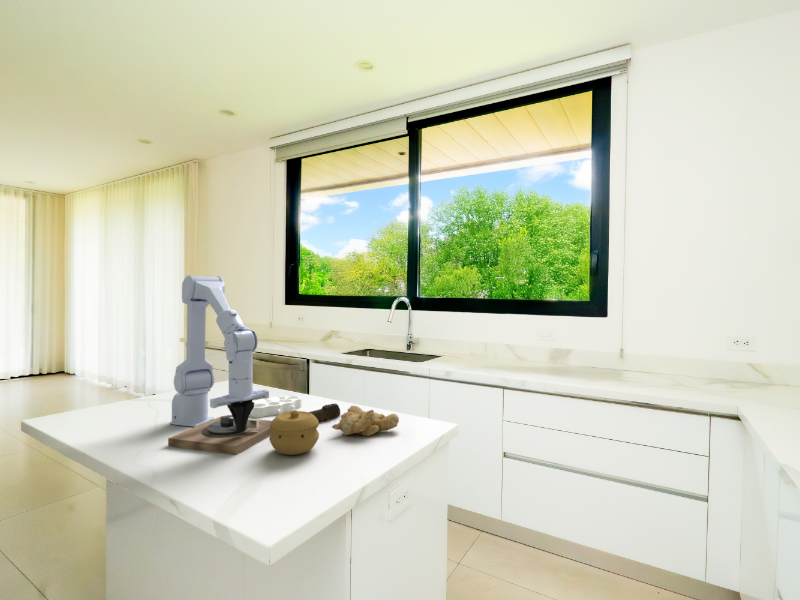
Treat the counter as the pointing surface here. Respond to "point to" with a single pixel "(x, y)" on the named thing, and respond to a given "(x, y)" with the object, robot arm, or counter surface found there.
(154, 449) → the counter surface
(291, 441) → the pot
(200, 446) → the dial board
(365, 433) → the ginger root
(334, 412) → the brown rough bar
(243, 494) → the counter surface
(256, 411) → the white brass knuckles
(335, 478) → the counter surface
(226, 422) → the dial
